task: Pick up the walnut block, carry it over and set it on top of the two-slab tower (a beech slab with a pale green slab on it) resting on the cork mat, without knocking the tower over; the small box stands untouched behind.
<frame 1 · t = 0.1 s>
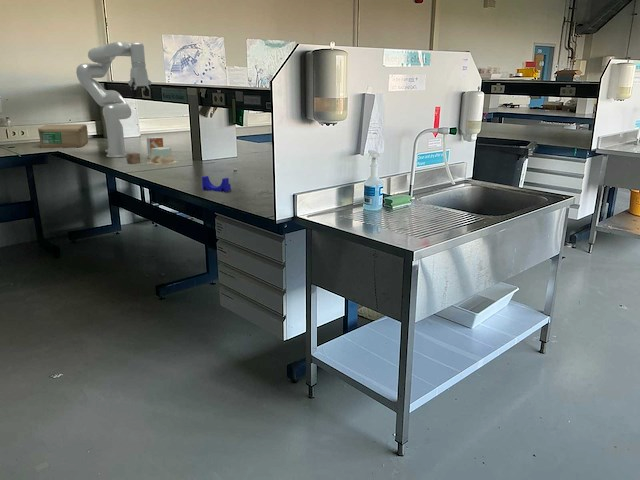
hand: (141, 96, 306), 37 cm above the table, tool pointing down, fingers open, 9 cm apart
walnut block: (134, 164, 301), on the table
blue cradle block: (216, 190, 240), on the table
paper package: (65, 146, 370), on the table
tower base: (162, 162, 306), point 1 cm above the table, touching cork mat, tower top
small box: (156, 159, 321), on the table
cork mat: (162, 163, 306), on the table
tower top: (161, 155, 305), point 5 cm above the table, touching tower base
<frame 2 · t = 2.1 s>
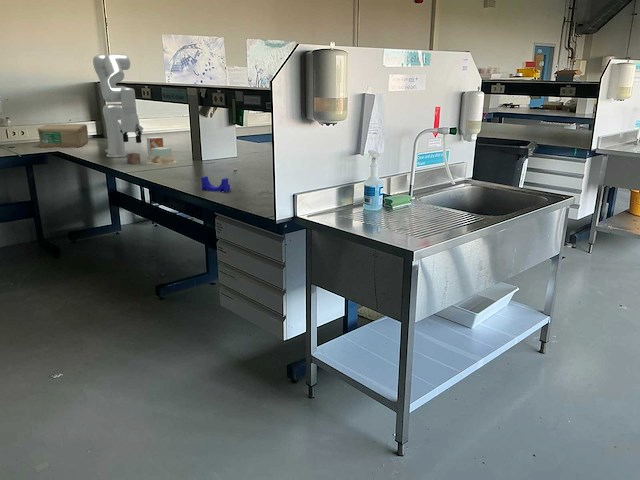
hand: (132, 142, 297), 12 cm above the table, tool pointing down, fingers open, 9 cm apart
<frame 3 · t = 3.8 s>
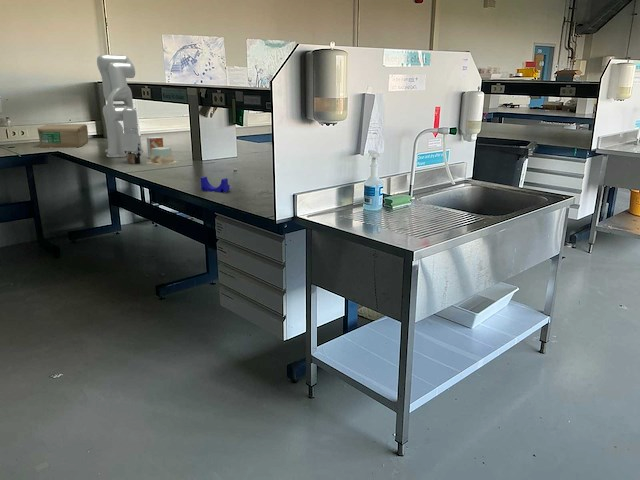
hand: (133, 163, 301), 1 cm above the table, tool pointing down, fingers closed on walnut block, 5 cm apart
walnut block: (134, 164, 301), on the table, touching gripper
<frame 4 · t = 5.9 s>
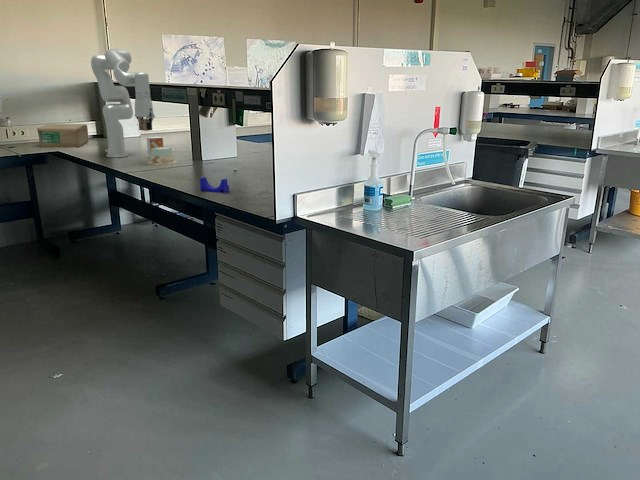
hand: (145, 128, 298), 20 cm above the table, tool pointing down, fingers closed on walnut block, 5 cm apart
walnut block: (145, 130, 298), point 19 cm above the table, touching gripper
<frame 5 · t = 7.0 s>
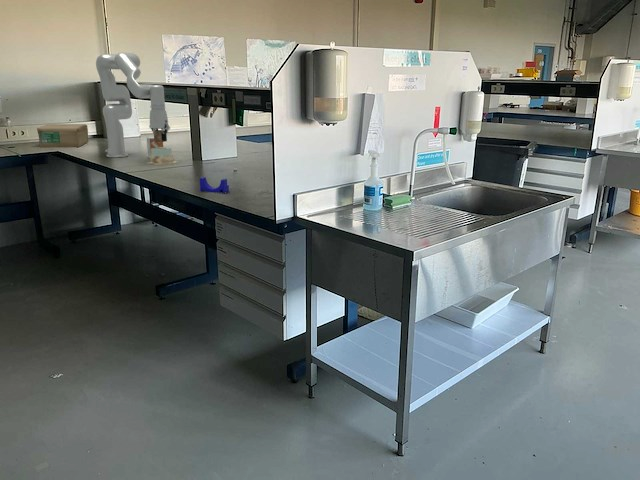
hand: (160, 140, 302), 13 cm above the table, tool pointing down, fingers closed on walnut block, 5 cm apart
walnut block: (160, 141, 302), point 13 cm above the table, touching gripper
when the fingers open (10 cm above the table, at t = 8.0 s): walnut block stays where it is, resting on tower top.
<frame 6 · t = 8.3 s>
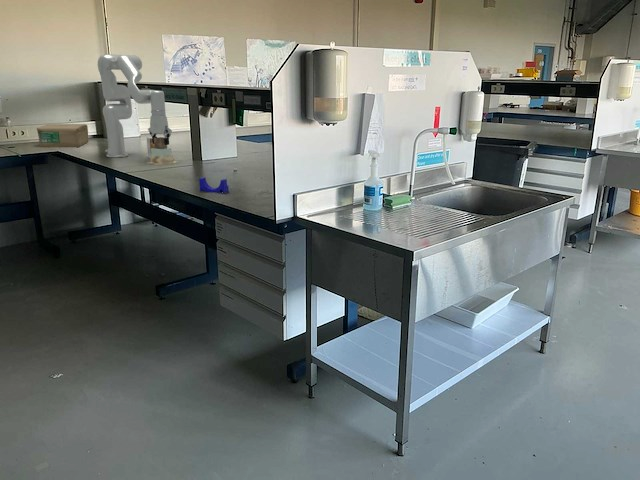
hand: (160, 144, 303), 11 cm above the table, tool pointing down, fingers open, 8 cm apart
walnut block: (161, 148, 303), point 9 cm above the table, touching tower top
tower top: (161, 155, 305), point 5 cm above the table, touching tower base, walnut block
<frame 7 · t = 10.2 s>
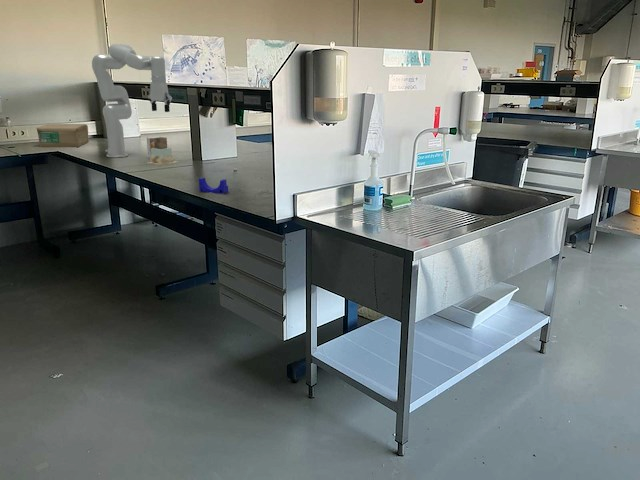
hand: (160, 111, 300), 29 cm above the table, tool pointing down, fingers open, 9 cm apart
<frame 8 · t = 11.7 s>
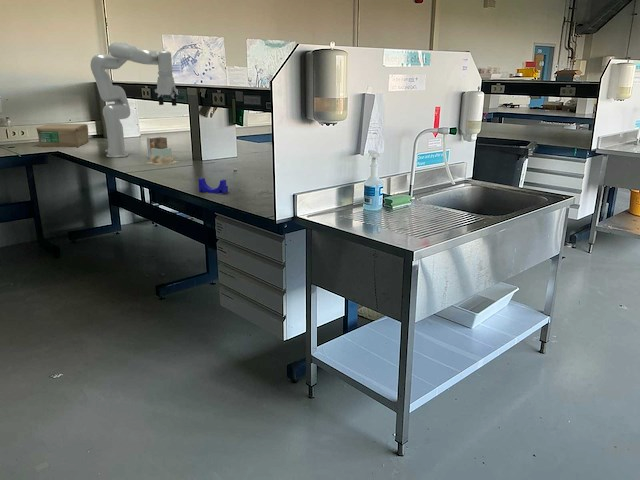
hand: (167, 105, 304), 32 cm above the table, tool pointing down, fingers open, 9 cm apart
at the end: walnut block 0.1 cm off-centre on the tower top, point 4.0 cm above the tower top's base; walnut block tilted 0°; tower top moved 0.1 cm from its start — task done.
